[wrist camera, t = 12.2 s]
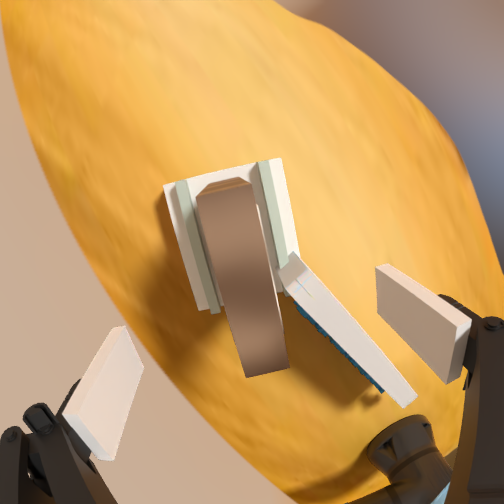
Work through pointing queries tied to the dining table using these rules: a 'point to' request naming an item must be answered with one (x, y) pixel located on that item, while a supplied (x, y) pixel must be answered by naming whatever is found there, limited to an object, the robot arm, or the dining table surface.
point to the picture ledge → (192, 235)
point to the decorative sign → (342, 329)
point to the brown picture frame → (244, 274)
